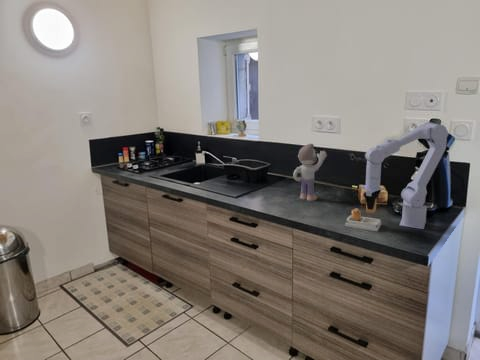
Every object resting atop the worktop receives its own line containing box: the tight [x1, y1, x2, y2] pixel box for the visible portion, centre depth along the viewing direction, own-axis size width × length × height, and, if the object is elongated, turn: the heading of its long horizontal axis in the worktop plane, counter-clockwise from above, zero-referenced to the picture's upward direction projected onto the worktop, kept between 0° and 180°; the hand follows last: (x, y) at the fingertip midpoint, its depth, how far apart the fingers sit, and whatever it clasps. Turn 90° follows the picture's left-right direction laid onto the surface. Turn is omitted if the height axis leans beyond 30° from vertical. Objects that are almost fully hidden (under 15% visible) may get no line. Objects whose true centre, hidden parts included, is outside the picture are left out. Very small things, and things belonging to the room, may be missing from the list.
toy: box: [292, 143, 328, 202], centre depth 193 cm, size 18×9×30 cm, turn 47°
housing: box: [344, 207, 382, 232], centre depth 159 cm, size 14×8×7 cm, turn 60°
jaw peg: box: [362, 194, 378, 214], centre depth 156 cm, size 5×4×7 cm
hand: (371, 207), depth 156 cm, fingers closed on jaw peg, 4 cm apart
